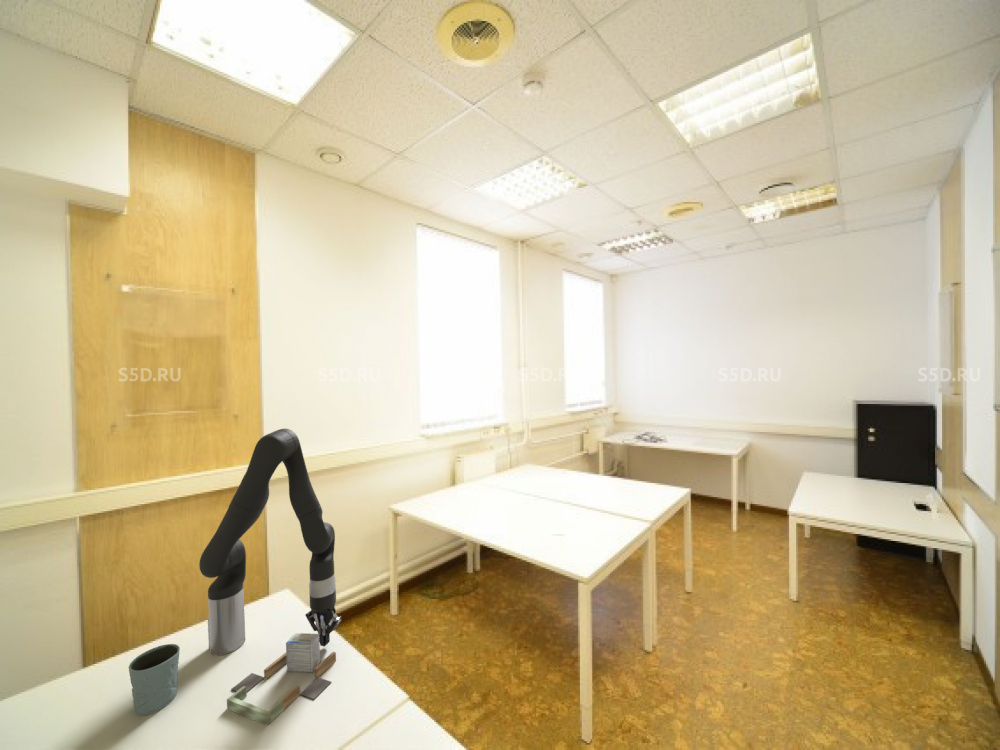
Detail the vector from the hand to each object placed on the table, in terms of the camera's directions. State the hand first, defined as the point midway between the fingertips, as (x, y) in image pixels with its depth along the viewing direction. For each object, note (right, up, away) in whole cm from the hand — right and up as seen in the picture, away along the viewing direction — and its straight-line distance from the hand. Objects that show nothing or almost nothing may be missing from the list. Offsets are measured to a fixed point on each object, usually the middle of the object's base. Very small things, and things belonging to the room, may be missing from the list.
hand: (324, 644), depth 123 cm
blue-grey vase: (-37, -3, -18) cm, 41 cm away
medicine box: (-3, -2, -8) cm, 8 cm away
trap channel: (-5, -2, -13) cm, 14 cm away
